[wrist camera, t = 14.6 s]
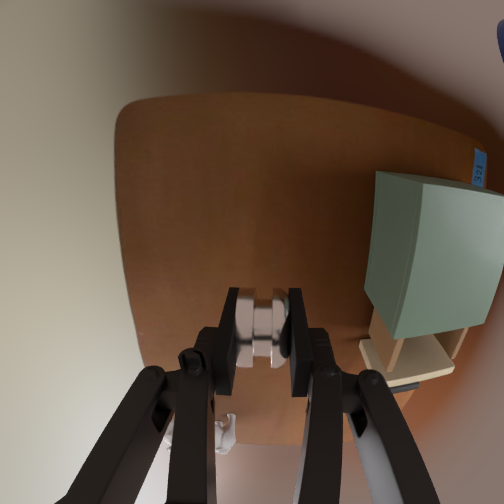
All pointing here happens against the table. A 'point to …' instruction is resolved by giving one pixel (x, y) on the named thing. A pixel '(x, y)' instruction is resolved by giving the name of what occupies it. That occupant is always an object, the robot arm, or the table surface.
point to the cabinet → (433, 253)
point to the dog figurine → (222, 435)
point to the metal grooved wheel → (262, 328)
